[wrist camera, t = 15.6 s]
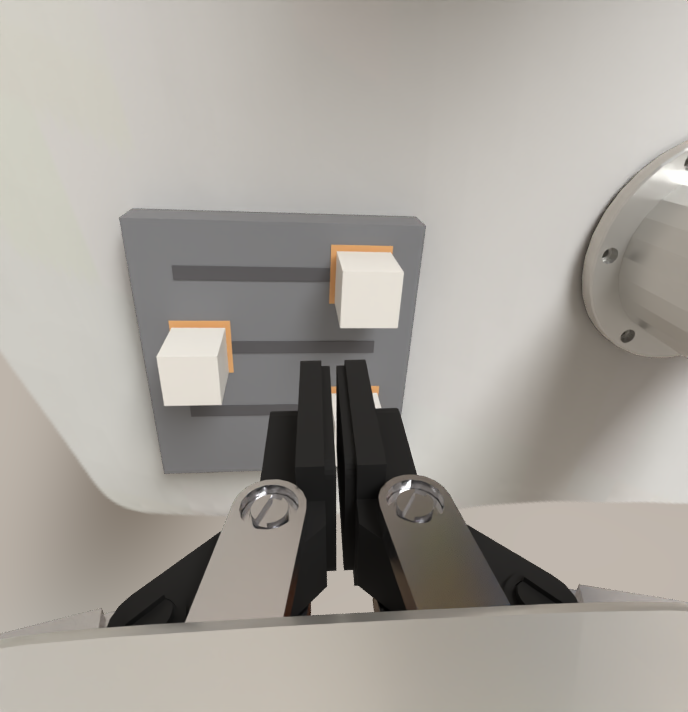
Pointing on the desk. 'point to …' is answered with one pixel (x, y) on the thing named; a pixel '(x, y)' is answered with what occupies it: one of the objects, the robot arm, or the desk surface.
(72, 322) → the desk surface
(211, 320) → the switch panel
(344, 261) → the near slider knob
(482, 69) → the desk surface
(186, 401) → the middle slider knob
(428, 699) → the robot arm
